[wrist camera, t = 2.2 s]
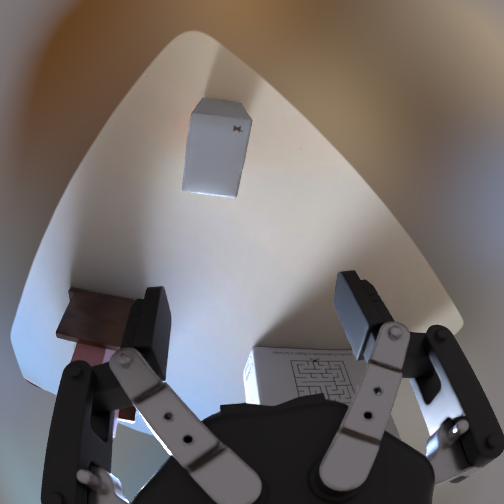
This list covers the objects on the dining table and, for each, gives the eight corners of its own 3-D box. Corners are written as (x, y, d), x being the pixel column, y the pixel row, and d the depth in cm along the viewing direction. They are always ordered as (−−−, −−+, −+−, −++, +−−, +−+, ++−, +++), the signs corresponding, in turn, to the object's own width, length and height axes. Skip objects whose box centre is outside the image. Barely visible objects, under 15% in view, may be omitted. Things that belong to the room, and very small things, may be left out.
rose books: (104, 378, 50) (92, 432, 40) (93, 301, 40) (68, 367, 30) (124, 382, 51) (115, 437, 41) (118, 306, 41) (99, 374, 31)
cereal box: (242, 371, 53) (257, 505, 32) (252, 345, 49) (273, 494, 28) (347, 373, 57) (384, 483, 36) (364, 349, 53) (411, 466, 32)
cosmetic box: (201, 97, 28) (191, 108, 18) (242, 102, 29) (255, 118, 19) (192, 151, 32) (180, 192, 22) (231, 157, 32) (238, 200, 22)
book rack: (86, 372, 50) (76, 410, 43) (70, 286, 39) (48, 330, 32) (145, 384, 53) (140, 424, 45) (147, 301, 42) (136, 350, 34)
